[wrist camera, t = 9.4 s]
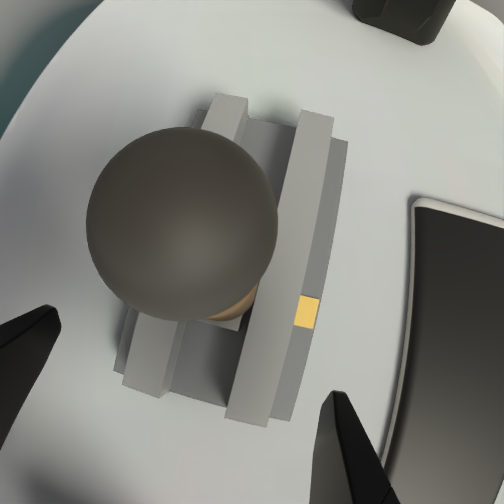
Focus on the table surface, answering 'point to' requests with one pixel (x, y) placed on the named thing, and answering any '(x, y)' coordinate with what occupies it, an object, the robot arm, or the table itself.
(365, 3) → the black machined bracket
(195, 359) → the slider console
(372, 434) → the table surface
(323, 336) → the table surface
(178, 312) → the lever
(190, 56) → the table surface
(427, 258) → the smartphone
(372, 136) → the table surface
